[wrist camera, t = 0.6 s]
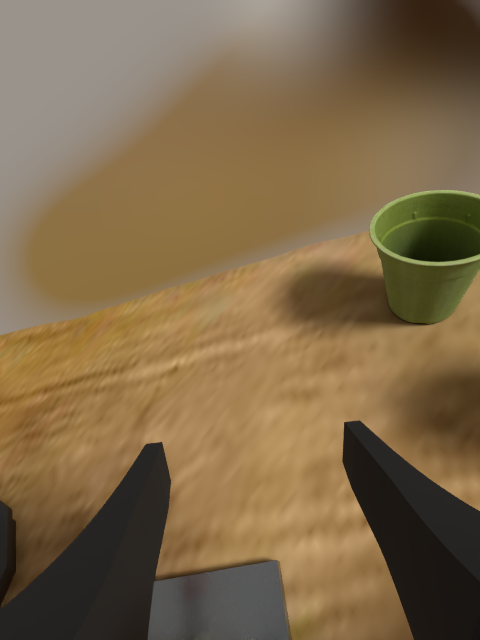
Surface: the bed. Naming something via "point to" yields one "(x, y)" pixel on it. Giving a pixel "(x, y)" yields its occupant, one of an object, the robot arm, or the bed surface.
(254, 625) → the valve assembly
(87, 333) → the bed surface
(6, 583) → the black drum container
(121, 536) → the robot arm
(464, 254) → the plant pot
